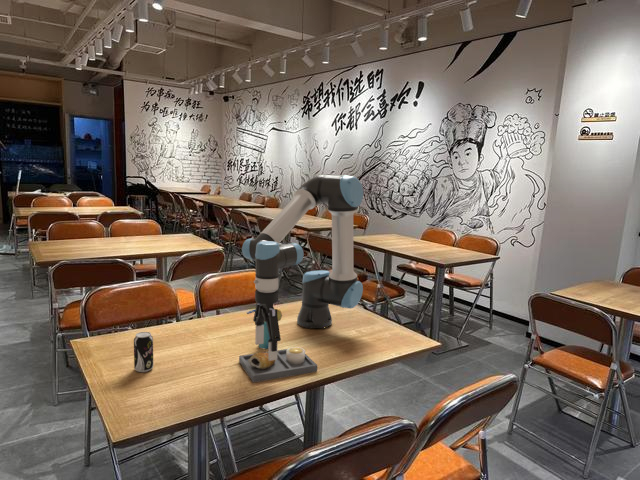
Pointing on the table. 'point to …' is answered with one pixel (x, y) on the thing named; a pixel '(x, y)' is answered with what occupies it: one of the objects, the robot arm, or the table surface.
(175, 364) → the table surface
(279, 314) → the cup
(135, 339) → the beverage can
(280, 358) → the serving board
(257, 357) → the pastry
